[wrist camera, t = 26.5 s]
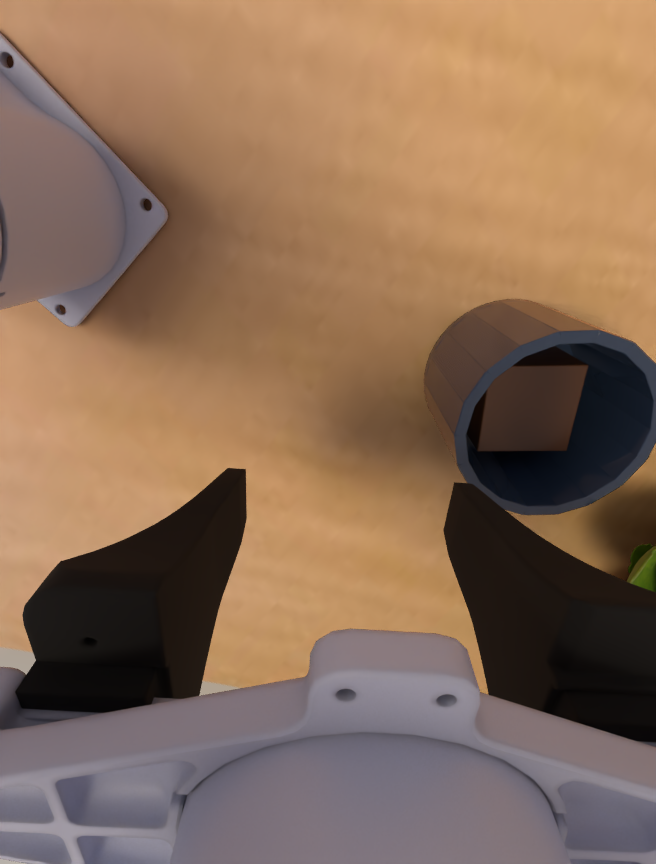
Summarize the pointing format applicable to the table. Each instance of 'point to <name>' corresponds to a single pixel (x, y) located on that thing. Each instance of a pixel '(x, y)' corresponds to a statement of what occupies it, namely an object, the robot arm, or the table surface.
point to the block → (530, 404)
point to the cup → (594, 422)
